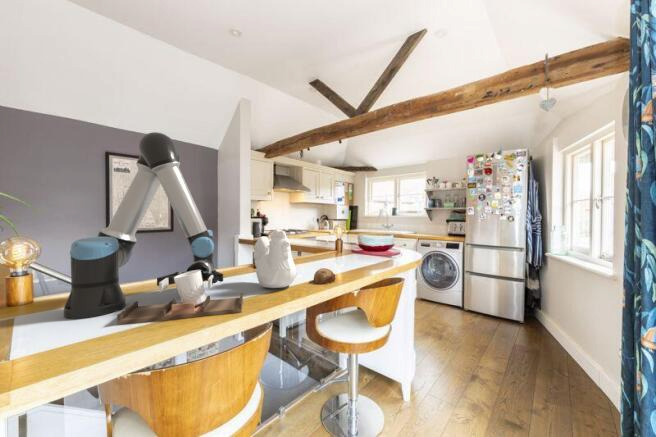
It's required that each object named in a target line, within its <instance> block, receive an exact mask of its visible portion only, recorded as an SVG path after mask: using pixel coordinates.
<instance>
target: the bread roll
mask: <svg viewBox="0 0 656 437" xmlns="http://www.w3.org/2000/svg"><path fill="white" fill-rule="evenodd" d="M313 281H314V283H315V282H316V283H315V284H318V283H319V284H318V285H328V284H327V283H329V284H333V283H335V281H336V274H335V273H334V272H333V271H332V270H331V269H330V268H325V267H320V268H318V269H317V270H316V271H315V273H314V274H313ZM332 282H333V283H332Z"/></svg>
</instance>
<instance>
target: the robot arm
mask: <svg viewBox="0 0 656 437" xmlns="http://www.w3.org/2000/svg"><path fill="white" fill-rule="evenodd" d="M138 150H139V152H140V155H139V157H138V159H137V161H136V164H135V165H136V167H137V171H136V173H135V175H134V177H133V179H132V181H131V183H130V185H129V186H128V189H127V190H126V192H125V195H124V196H123V198H122V200H121V202H120V203H119V206H118V207H117V209H116V211H115V213H114V215H113V217H112V218H111V221H110V222H109V224H108V226H107V227H105V228H102V229H100V230H99V232H98V235H97V236H90V237H87V238H80V239H77V240H75V241H73V242H71V245H70V251H69V255H70V279H71V280H70V283H71V284H70V285H71V287H70V288H71V290H70V293H69V295H68V297H67V300H66V302H65V305H64V307H63V317H64V318H65V319H86V318H93V317H99V316H103V315H107V314H110V313H114V312H116V311H119V310H121V309H123V308H125V307H126V305H127V304H126V301H127V300H126V297H125V294H124V292H123V290H122V287H121V285H120V276H119V275H120V272H119V271H120V270H119V269H120V268H122V267H124V266H125V265H127V263H128V262H129V261H130V259H131V258H132V256H133V249H134V248H135V245H136V243H137V241H138V240H137V238H136V233H137V231H138V229H139V228H140V225H141V224H142V222H143V220H144V217H145V215H146V214H147V211H148V210H149V208H150V205H151V204H152V201H153V200H154V198H155V195H156V194H157V192H158V189H160V186H161V187H162V190H163V191H164V193H165V196H166V197H167V200H168V202H169V204H170V205H171V208H172V210H173V212H174V214H175V216H176V218H177V221H178V223H179V226H180V227H181V229H182V231H183V233H184V235H185V238H186V239H187V241H188V244H189V246H190V251H191V252H192V254H193V261H192V262H193V263H192V264H191V265H190V266H189V267H188V268H187V269H186V270H185V271H182V272H179V271H175V272H173V273H169V274H166V275H163V276H159V277H157V278H156V286H157V287H158V290H159V293H161V292H163V291H164V290H166V289H167V288H168V287H169V286H170V285H174V284H175V281H174V277H175V276H178V275H180V274H183V273H186V272H190V271H194V270H201V275H202V279H203V282H206V281H207V288H208V289H211V288H212V286H213V285H214V284H216V283H217V282H220V283H222V282H224V274H223V273H221V272H220V271H217V270H216V269H215V261H214V249H215V243H214V241H213V240H214V234H213V230H211V229H208V228H207V226H206V223H205V221H204V220H203V217H202V215H201V213H200V211H199V208H198V206H197V205H196V202H195V200H194V198H193V196H192V193H191V191H190V188H189V187H188V185H187V182H186V181H185V180H186V179H185V178H184V175H183V174H182V172H181V171H182V170H181V169H180V165H181V162H180V153H179V152H180V151H179V150H178V148H177V147H176V144H175V143H174V140H173V139H172V138H171V137H169V136H168V135H166V134H165V133H162V132H157V131H156V132H153V131H152V132H149V133H147V134H144V136H142V138H141V139H140V140H139V142H138Z"/></svg>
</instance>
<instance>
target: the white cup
mask: <svg viewBox="0 0 656 437" xmlns="http://www.w3.org/2000/svg"><path fill="white" fill-rule="evenodd" d="M185 272H186V271H185ZM179 274H180V275H178V276H175V277H174V281H175V283H174V284H175V287H176V289H177V293H178V295H179V298H180V300H181V303H182V304H185V303H195V305H198V304H200V303H202V302H204V301H205V300H206V298H207V296H206V293H205V287H204V281H203V279H202V275H201V270H194V271H190V272H186V273H183V274H181V273H179Z"/></svg>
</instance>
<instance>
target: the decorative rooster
mask: <svg viewBox="0 0 656 437" xmlns="http://www.w3.org/2000/svg"><path fill="white" fill-rule="evenodd" d="M269 236H270V237H269V238H270V241H269V238H268V236H260V237H259V238H258V239H257V241H256V242H255V243H254V248H253V249H254V251H253V254H252V255H253V259H254V265H255V268H256V269H255V273H256V276H257V278H256V279H257V280H258V283H259V284H260V286H261V287H262V288H267V289H278V288H279V289H280V288H286V287H288V286H290V285H292V284H293V282H294V281H295V279H296V278H297V276H298V271H297V268H296V265H295V262H294V259H293V256H292V248H291V242H290V239H289V237H287V234H286V232H285V230H281V229H279V228H277V229H275V230H273V231H271V232H270V234H269Z"/></svg>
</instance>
